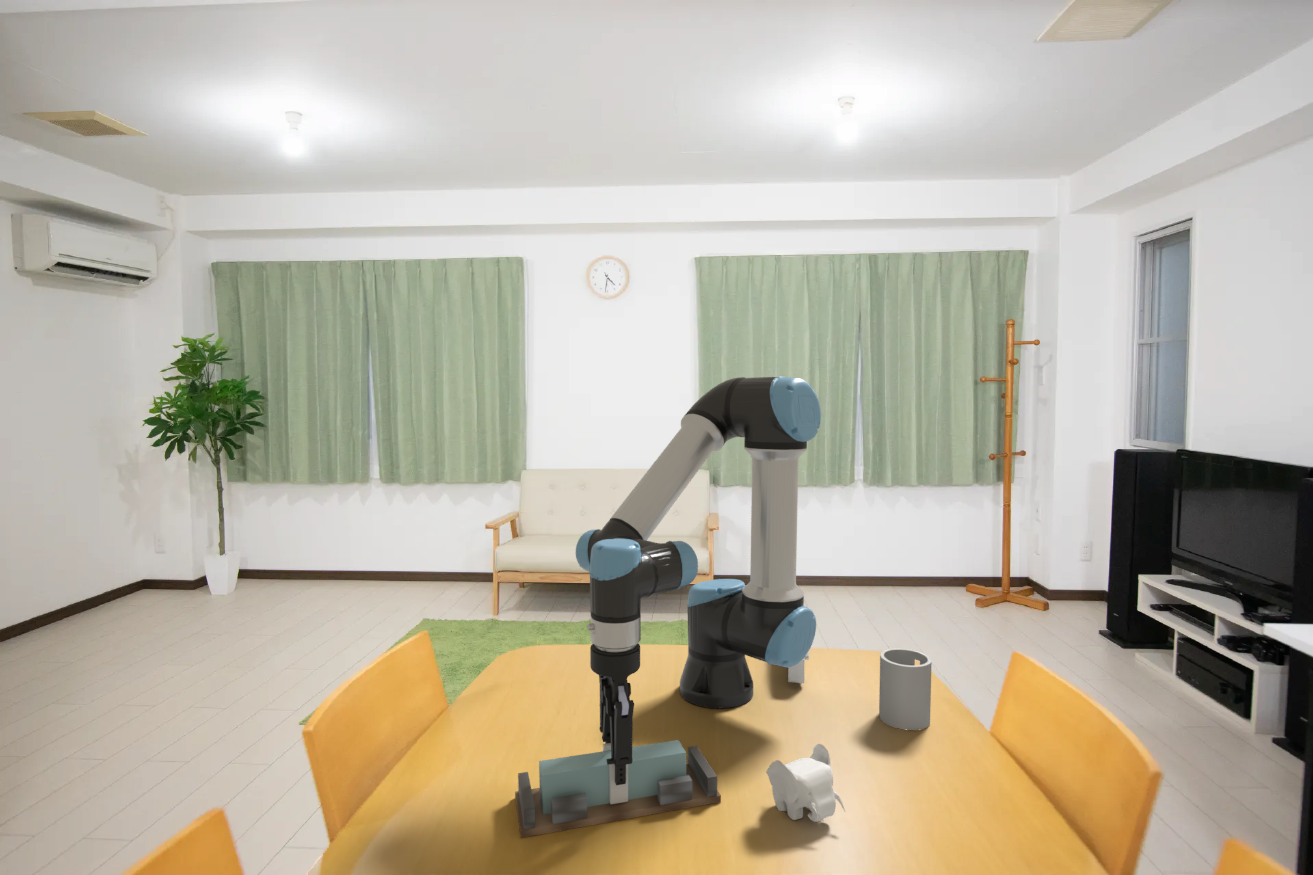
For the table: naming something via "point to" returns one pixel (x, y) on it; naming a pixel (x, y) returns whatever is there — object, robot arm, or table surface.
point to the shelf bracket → (797, 671)
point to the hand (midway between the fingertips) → (615, 792)
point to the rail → (594, 773)
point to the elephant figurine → (805, 786)
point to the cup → (905, 689)
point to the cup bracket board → (575, 813)
